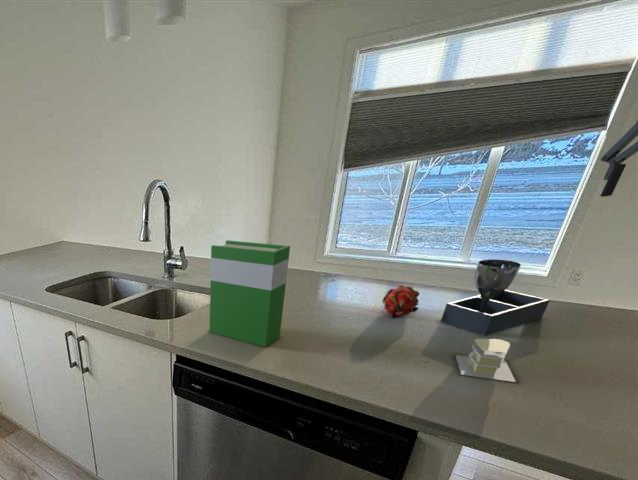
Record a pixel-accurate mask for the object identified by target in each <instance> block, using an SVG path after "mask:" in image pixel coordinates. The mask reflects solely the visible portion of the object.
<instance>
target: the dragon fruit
mask: <svg viewBox="0 0 638 480" xmlns="http://www.w3.org/2000/svg"><path fill="white" fill-rule="evenodd" d="M419 296H420V292H419V290H414V288H413V287H412V286H410V285H407V286H405V285H398V286H396V287H395V288H391V289H389V290H388V291H386V294H385V295H384V297H383V298H382V304H384V307H383V308H384V310H386V312H387V315H388V316H390V317H397V316H407V315H409V314H411V313H415V312H417V311H418V310H419V307H418V306H419V302H420V301H419V299H418V297H419Z"/></svg>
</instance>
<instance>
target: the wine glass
mask: <svg viewBox="0 0 638 480" xmlns="http://www.w3.org/2000/svg"><path fill="white" fill-rule="evenodd" d="M520 268H521V263H520V262H517V261H513V260H508V259H497V258H496V259H493V258H492V259H481V260H479V261H478V262H477V265H476V268H475V272H474V278H473V284H474V287H475V289H476V290H477V292H478V293H479V295H481V298H482V303H481V307H480V311H479V312H483V311H484V308H485V306H486V305H487V303H488V301H489V300H490V299H491V298H492V297H494V296H495V295H497V294H499V293H500V292H502V291H504V290H508V288H509V287H510V286H511V285H512V283H513V282H514V281H515V279H516V278H517V276H518V273H519V271H520Z"/></svg>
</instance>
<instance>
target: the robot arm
mask: <svg viewBox="0 0 638 480" xmlns="http://www.w3.org/2000/svg"><path fill="white" fill-rule="evenodd" d="M637 137H638V119H637V120H636V122H635V124H633V126H632V127H630V129H629V130H628V131H627V132H626V133H625V134H624V135H622V137H621V138H619V140H617V141H616V143H614V145H613V146H611V147H610V148H609V149H608V150H607V151H606V152H605V153H604V154H603V156H602V157H600V161H601V162H605V163H607V164H608V167H607V169H606V171H605V174H604V176H603V180H604V181H606V183H605V185H604V187H603V189H602V192H601V193H600V197H601V198H605V197H611V196H612V195H613V193H614V191H615V190H616V187H617V185H618V183H619V180H621V179H620V178H621V177H622V175H623V172H624V170H625V169H626V167H627V163H624V162H625V161H627V159H629V158H630V157H632V156H634V155H635V154H637V153H638V141H636V142H635V143H633V144H632V145H630V146H629V147H628V148H627V146H628V145H629V144H630V143H631V142H633V140H635V139H636V138H637ZM625 148H626V149H625ZM624 149H625V150H624Z"/></svg>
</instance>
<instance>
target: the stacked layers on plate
mask: <svg viewBox="0 0 638 480" xmlns="http://www.w3.org/2000/svg"><path fill="white" fill-rule="evenodd" d="M474 342H475V344H472V345H471V348H472V351H471V352H470V353H469V354H468V356H467V355H460V354H455V359H456V363H457V366H458V369H459V373H460V375H461V376H468V377H469V376H470V377H475V378H481V379H483V378H484V379H490V380H497V381H506V382H511V383H516V379H515V377H514V375H513V373H512V371H511V369H510V366H509V365H508V363H507V361H506V360H505V357H506V356H507V354H508V351H509V349H510V346H511V343H510V342H509V341H506V340H503V339H499V338H475V339H474Z"/></svg>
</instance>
